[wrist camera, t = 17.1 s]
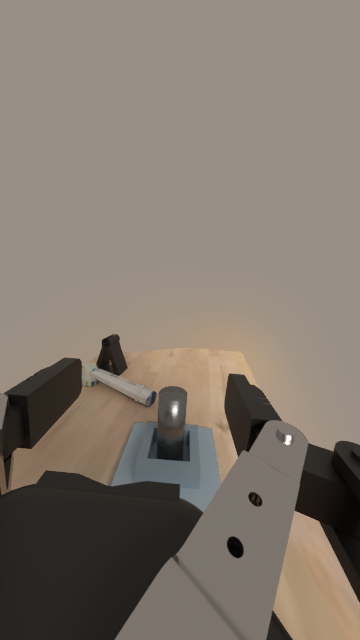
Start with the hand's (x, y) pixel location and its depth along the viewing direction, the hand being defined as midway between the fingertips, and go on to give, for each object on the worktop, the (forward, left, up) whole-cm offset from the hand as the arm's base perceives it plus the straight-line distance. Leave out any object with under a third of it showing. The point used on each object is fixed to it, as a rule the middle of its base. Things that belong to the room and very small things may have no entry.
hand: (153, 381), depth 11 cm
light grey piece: (-17, +40, -26) cm, 50 cm away
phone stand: (-23, +53, -26) cm, 63 cm away
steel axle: (0, +19, -24) cm, 30 cm away
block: (0, +19, -25) cm, 31 cm away
